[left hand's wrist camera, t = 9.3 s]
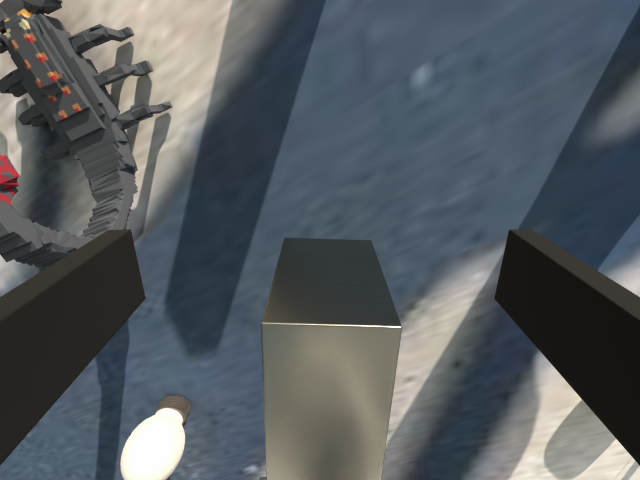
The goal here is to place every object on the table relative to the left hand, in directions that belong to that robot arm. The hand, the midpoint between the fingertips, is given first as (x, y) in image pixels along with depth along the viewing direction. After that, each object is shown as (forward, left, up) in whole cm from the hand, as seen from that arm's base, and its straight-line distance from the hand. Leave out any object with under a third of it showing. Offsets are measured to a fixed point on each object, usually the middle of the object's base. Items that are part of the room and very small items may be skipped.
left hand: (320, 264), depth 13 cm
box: (+7, +13, -12) cm, 19 cm away
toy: (+16, -17, -26) cm, 35 cm away
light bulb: (+35, +20, -26) cm, 47 cm away
